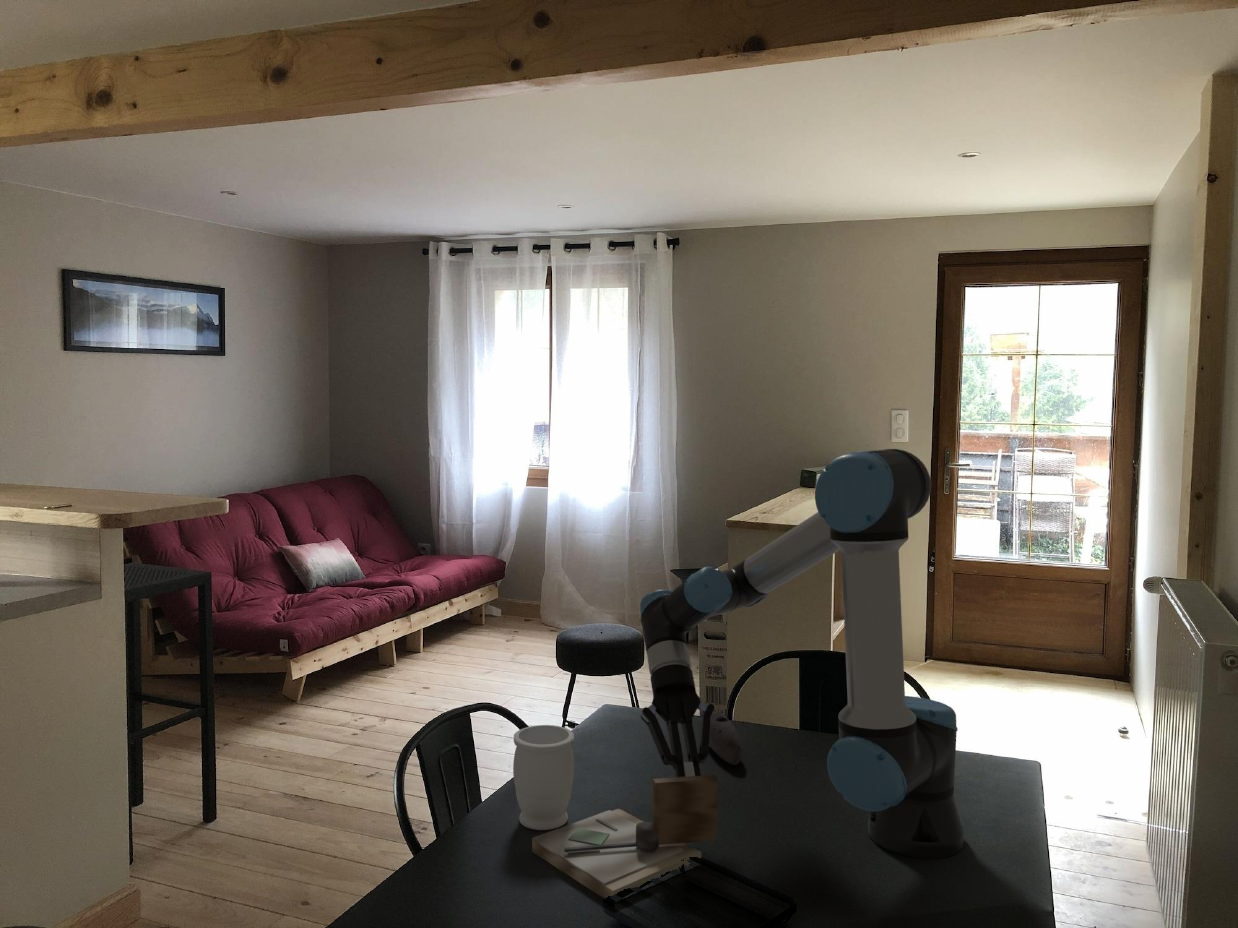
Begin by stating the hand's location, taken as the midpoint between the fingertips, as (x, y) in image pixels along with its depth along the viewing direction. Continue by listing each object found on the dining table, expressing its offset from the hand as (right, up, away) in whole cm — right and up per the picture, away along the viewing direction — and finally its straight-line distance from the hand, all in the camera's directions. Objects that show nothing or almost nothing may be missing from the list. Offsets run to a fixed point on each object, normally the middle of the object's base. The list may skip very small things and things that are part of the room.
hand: (693, 803), depth 154 cm
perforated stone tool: (+9, -4, +38) cm, 40 cm away
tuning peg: (-9, -5, -5) cm, 11 cm away
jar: (-25, -6, +9) cm, 27 cm away
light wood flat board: (-12, -7, -4) cm, 15 cm away
